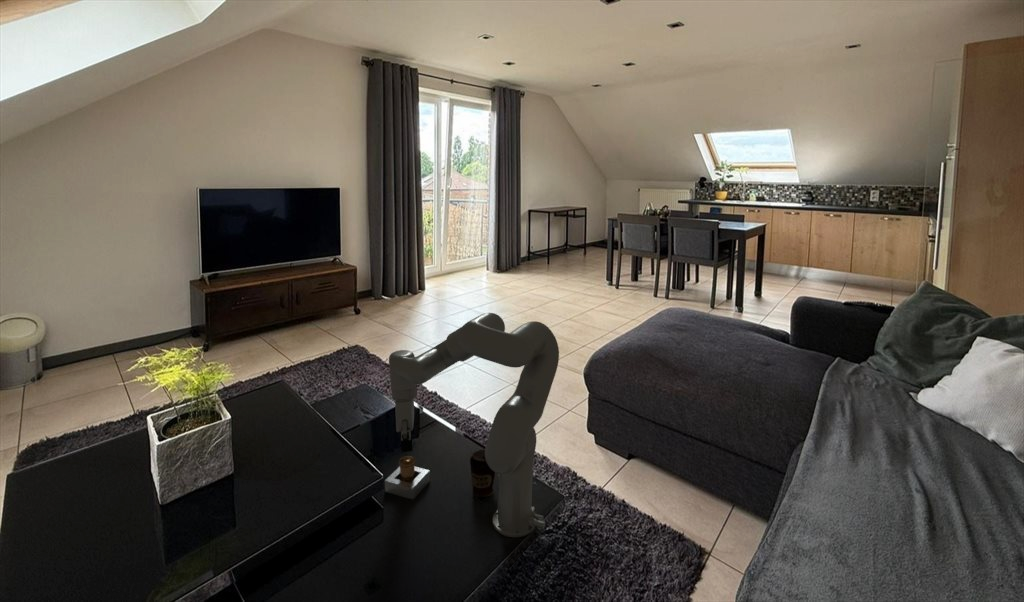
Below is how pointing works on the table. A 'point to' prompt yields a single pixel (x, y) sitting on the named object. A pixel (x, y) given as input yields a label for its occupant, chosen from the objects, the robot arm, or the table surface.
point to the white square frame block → (405, 488)
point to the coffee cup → (481, 475)
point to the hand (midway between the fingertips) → (408, 442)
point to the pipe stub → (407, 468)
